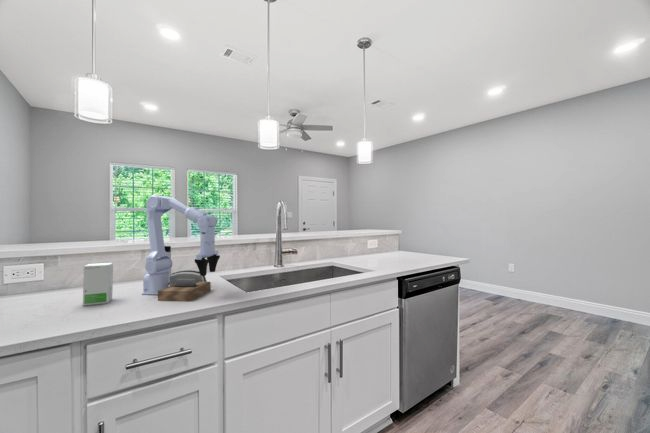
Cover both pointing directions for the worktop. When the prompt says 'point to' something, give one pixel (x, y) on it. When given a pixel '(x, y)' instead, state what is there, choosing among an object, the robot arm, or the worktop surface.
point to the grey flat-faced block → (186, 283)
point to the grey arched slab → (186, 276)
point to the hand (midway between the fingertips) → (207, 273)
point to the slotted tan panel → (183, 292)
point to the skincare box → (97, 283)
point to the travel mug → (168, 250)
